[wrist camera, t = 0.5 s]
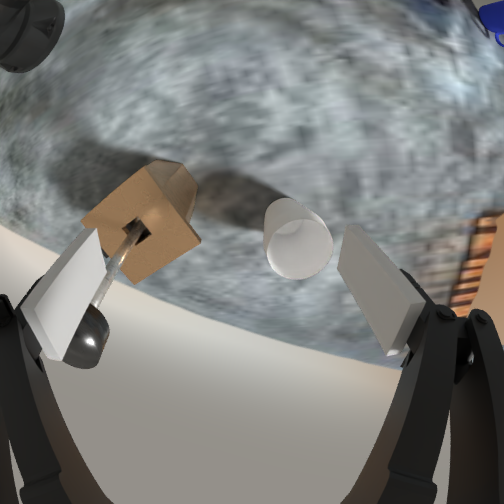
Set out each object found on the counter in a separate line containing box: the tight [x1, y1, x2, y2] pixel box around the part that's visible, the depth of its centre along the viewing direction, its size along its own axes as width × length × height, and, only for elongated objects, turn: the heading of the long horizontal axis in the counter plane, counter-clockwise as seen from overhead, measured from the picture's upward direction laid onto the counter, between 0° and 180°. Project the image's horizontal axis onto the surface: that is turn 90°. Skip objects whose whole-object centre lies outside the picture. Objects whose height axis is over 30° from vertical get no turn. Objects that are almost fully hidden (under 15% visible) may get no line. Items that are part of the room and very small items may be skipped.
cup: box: [263, 198, 333, 280], centre depth 41 cm, size 9×9×12 cm
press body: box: [81, 160, 201, 285], centre depth 36 cm, size 10×13×15 cm
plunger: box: [62, 216, 151, 369], centre depth 23 cm, size 8×8×20 cm
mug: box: [479, 0, 504, 47], centre depth 22 cm, size 8×12×10 cm
